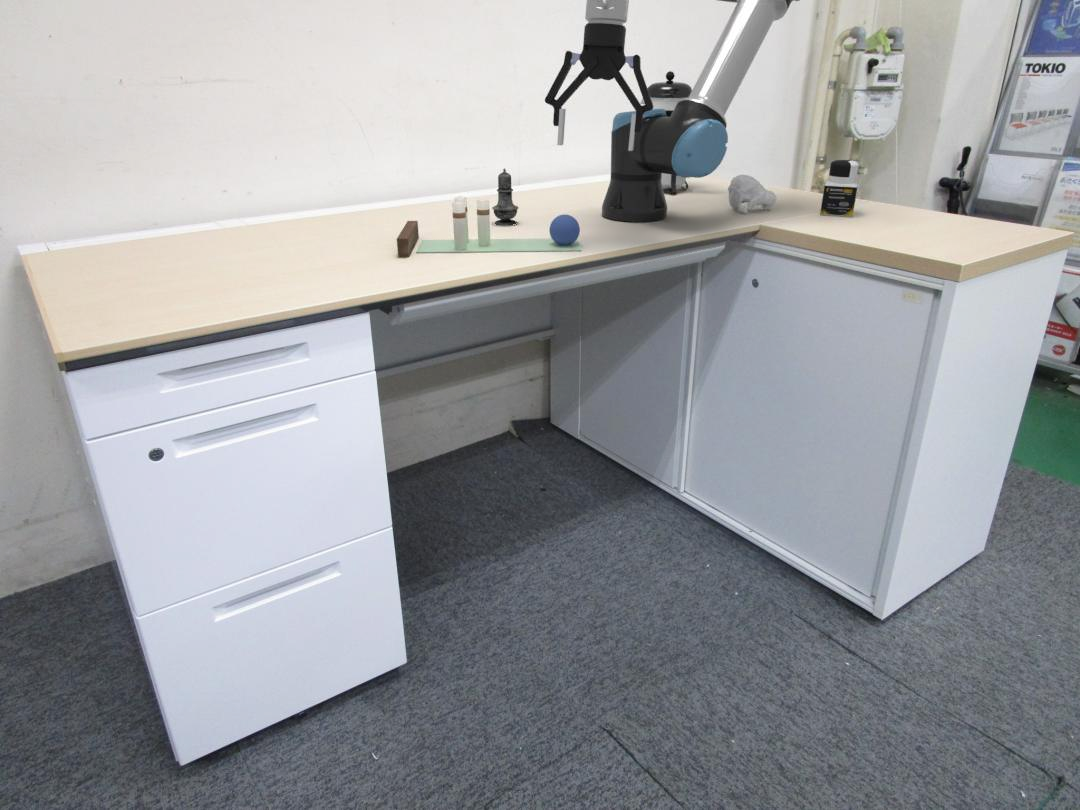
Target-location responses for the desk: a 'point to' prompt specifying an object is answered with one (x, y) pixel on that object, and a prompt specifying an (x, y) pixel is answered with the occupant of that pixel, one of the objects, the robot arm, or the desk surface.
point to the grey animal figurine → (749, 194)
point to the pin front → (483, 222)
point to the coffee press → (667, 98)
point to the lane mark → (497, 246)
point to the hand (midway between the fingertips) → (595, 147)
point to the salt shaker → (505, 201)
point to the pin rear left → (459, 225)
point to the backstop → (407, 239)
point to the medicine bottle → (840, 189)
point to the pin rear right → (464, 199)
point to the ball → (564, 230)
